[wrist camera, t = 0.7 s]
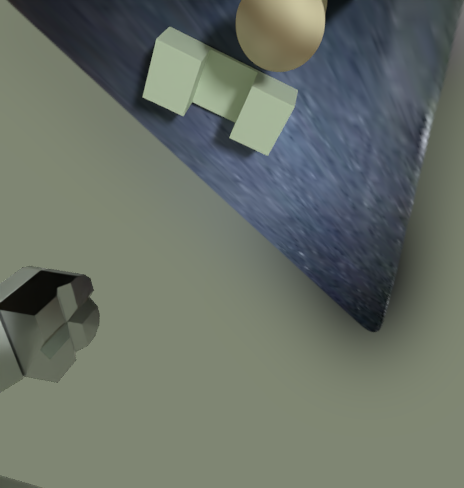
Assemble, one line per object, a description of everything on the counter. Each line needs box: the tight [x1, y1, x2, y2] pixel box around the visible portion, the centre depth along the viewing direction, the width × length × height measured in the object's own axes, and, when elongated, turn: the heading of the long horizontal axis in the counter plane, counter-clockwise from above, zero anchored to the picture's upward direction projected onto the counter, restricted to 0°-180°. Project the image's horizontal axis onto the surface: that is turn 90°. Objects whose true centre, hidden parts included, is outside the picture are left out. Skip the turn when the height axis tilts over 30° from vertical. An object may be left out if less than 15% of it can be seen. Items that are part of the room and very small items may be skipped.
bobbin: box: [236, 0, 327, 72], centre depth 39 cm, size 8×8×8 cm
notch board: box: [143, 27, 298, 156], centre depth 47 cm, size 7×16×5 cm, turn 68°
